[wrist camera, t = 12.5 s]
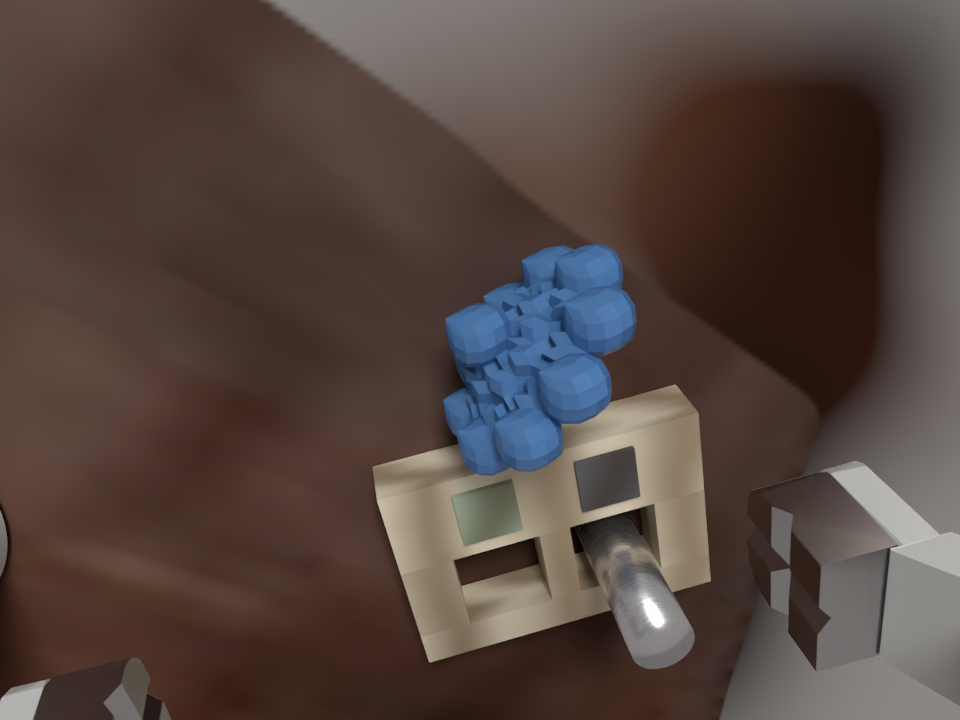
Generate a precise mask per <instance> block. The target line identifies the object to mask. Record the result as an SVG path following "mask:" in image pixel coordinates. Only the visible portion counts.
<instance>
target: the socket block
mask: <svg viewBox="0 0 960 720" xmlns="http://www.w3.org/2000/svg"><path fill="white" fill-rule="evenodd" d="M560 424H561V423H560ZM561 426H562V432H563V439H564V445H563V452H562V454H561V455H560V456H559V457H558V458H557V459H555V460H554V461H553V462H552V463H550V464H549V465H548V466H546V467H543V468H541V469H538V470H536V471H534V472H518V471H516V470H514V469H513V468H511V467H510V468H509V469H507V470H505V471H503V472H501V473H498V474H496V475H494V476H489V475H478V474H477V473H475V472H474V471H472V470H471V469H469V468H468V467H467V466H466V464H465V462H464V460H463V458H462V457H461V455H460V451H459V446H458V444H455V445H451V446H448V447H444V448H440V449H437V450H433V451H429V452H426V453H422V454H418V455H414V456H411V457H407V458H403V459H400V460H396V461H392V462H389V463H385V464H381V465H378V466H374V467H373V474H374V482H375V490H376V497H377V503H378V506H379V509H380V512H381V515H382V518H383V521H384V524H385V527H386V530H387V534H388V537H389V540H390V543H391V546H392V549H393V552H394V555H395V558H396V561H397V564H398V568H399V571H400V574H401V577H402V580H403V583H404V586H405V589H406V592H407V595H408V598H409V602H410V605H411V608H412V611H413V614H414V617H415V620H416V623H417V626H418V629H419V632H420V636H421V639H422V642H423V645H424V648H425V651H426V654H427V657H428V660H429V663H430V662H434V661H437V660H441V659H444V658H447V657H451V656H454V655H458V654H461V653H465V652H468V651H472V650H475V649H478V648H482V647H485V646H489V645H492V644H496V643H499V642H503V641H506V640H509V639H513V638H516V637H520V636H523V635H527V634H530V633H534V632H537V631H540V630H544V629H547V628H551V627H554V626H558V625H561V624H565V623H568V622H571V621H575V620H578V619H582V618H585V617H589V616H592V615H596V614H599V613H602V612H606V611H609V610H611V609H610V607H609V604H608V602H607V600H606V598H605V596H604V593H603V591H602V589H601V587H600V584H599V582H598V580H597V578H596V576H595V573H594V571H593V569H592V567H591V564H590V562H589V560H588V558H587V556H586V553H585V551H583V552H580V553H576V554H574V549H573V543H572V538H571V532H570V527H573V526H577V525H580V524H584V523H587V522H591V521H594V520H598V519H602V518H605V517H609V516H612V515H616V514H619V513H623V512H626V511H630V510H634V509H637V508H640V516H641V524H642V532H643V535H641V537H642V539H643V541H644V542H645V544H646V546H647V548H648V550H649V552H650V553H651V555H652V557H653V559H654V561H655V562H656V564H657V566H658V568H659V570H660V571H661V573H662V575H663V577H664V579H665V580H666V582H667V584H668V586H669V588H670V589H671V591H672V592H675V591H678V590H682V589H685V588H689V587H692V586H695V585H699V584H702V583H706V582H709V581H711V579H710V565H709V552H708V538H707V524H706V511H705V497H704V483H703V469H702V456H701V442H700V428H699V415H698V412H697V411H696V409H695V408H694V407H693V406H692V404H691V403H690V402H689V401H688V399H687V398H686V397H685V396H684V394H683V393H682V392H681V391H680V389H679V388H678V387H677V386H676V385H672V386H669V387H665V388H661V389H658V390H654V391H650V392H647V393H643V394H639V395H636V396H632V397H628V398H625V399H621V400H617V401H613V402H610V404H609V405H608V406H607V408H606V409H604V410H603V411H602V412H601V413H599V414H598V415H597V416H596V417H594V418H592V419H589V420H587V421H585V422H582V423H580V424H561ZM531 538H534V541H535V546H536V551H537V556H538V561H539V564H537V565H534V566H530V567H527V568H523V569H520V570H516V571H513V572H509V573H506V574H502V575H499V576H495V577H492V578H488V579H485V580H481V581H478V582H474V583H471V584H467V585H464V586H461V583H460V579H459V575H458V572H457V568H456V565H455V561H454V560H456V559H460V558H463V557H467V556H470V555H474V554H477V553H481V552H484V551H488V550H492V549H495V548H499V547H502V546H506V545H509V544H513V543H516V542H520V541H523V540H527V539H531Z"/></svg>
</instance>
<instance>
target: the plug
mask: <svg viewBox="0 0 960 720" xmlns="http://www.w3.org/2000/svg"><path fill="white" fill-rule="evenodd" d="M573 527H574V529H575V531H576V533H577V536H578V538H579V540H580V542H581V544H582V547H583V549H584V551H585V553H586V556H587V558H588V560H589V562H590V564H591V567H592V569H593V571H594V573H595V576H596V578H597V580H598V582H599V584H600V587H601V589H602V591H603V593H604V596H605V598H606V600H607V602H608V604H609V607H610V609H611V611H612V613H613V616H614V618H615V620H616V622H617V624H618V627H619V629H620V631H621V633H622V636H623V638H624V640H625V642H626V644H627V647H628V649H629V651H630V653H631V655H632V658H633V660H634V661H635V662H636V663H637V664H638V665H639V666H641V667H644V668H648V669H659V668H664V667H667V666H670V665H672V664H674V663H676V662H678V661H679V660H681V659H682V658H683V657H684V656H685V655H687V653H688V652H689V651H690V649H691V648H692V646H693V643H694V632H693V629H692V627H691V626H690V624H689V622H688V620H687V618H686V617H685V615H684V613H683V611H682V609H681V608H680V606H679V604H678V602H677V600H676V599H675V597H674V595H673V593H672V591H671V589H670V588H669V586H668V584H667V582H666V580H665V579H664V577H663V575H662V573H661V571H660V570H659V568H658V566H657V564H656V562H655V561H654V559H653V557H652V555H651V553H650V552H649V550H648V548H647V546H646V544H645V542H644V541H643V539H642V537H641V535H640V533H639V532H638V530H637V528H636V526H635V524H634V523H633V521H632V519H631V517H630V515H629V514H628V512H627V511H626V512H623V513H619V514H616V515H612V516H609V517H605V518H602V519H598V520H594V521H591V522H587V523H584V524H580V525H577V526H573Z"/></svg>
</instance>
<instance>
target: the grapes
mask: <svg viewBox="0 0 960 720" xmlns="http://www.w3.org/2000/svg"><path fill="white" fill-rule="evenodd" d="M522 276H523V281H522V282H512V283H508V284H505V285H503V286H501V287H499V288H496V289H494V290H492V291H490V292H489V293H487V294H486V295H484V296H483V302H484V303H476V304H474V305H471V306H469V307H467V308H464V309H462V310H460V311H458V312H456V313H454V314H453V315H451V316H449V317H448V318H446V319H445V322H446V332H447V338H448V343H449V346H450V348H451V350H452V352H453V353H454V357H455V363H456V369H457V372H458V373H459V375H460V377H461V379H462V381H463V383H464V384H465V386H466V387H463V388H461V389H459V390H457V391H455V392H454V393H452V394H451V395H449V396H448V397H446V398H445V399H444V400H443V404H444V412H445V417H446V422H447V424H448V426H449V428H450V429H451V431H452V433H453V434H454V435H455V436H457V441H458V446H459V451H460V455H461V457H462V458H463V460H464V462H465V464H466V466H467V467H468V468H469V469H471V470H472V471H474V472H475V473H477V474H478V475H489V476H494V475H496V474H498V473H501V472H503V471H505V470H507V469H509V468H510V467H511V468H513V469H514V470H516V471H518V472H534V471H536V470H538V469H541V468H543V467H546V466H548V465H549V464H550V463H552V462H553V461H554V460H555V459H557V458H558V457H559V456H560V455H561V454H562V452H563V445H564V439H563V432H562V426H561V424H580V423H582V422H585V421H587V420H589V419H592V418H594V417H596V416H597V415H598V414H599V413H601V412H602V411H603V410H604V409H606V408H607V406H608V405H609V404H610V399H611V393H612V387H611V379H610V373H609V372H608V370H607V368H606V367H605V365H604V363H603V362H602V360H601V359H599V358H597V357H595V356H605V355H607V354H610V353H612V352H614V351H617V350H619V349H620V348H622V347H623V346H624V345H626V344H627V343H628V342H630V341H631V340H632V339H633V337H634V333H635V327H636V314H635V306H634V304H633V302H632V301H631V299H630V298H629V296H628V294H627V293H626V292H625V291H622V290H621V288H622V280H623V273H622V265H621V261H620V259H619V258H618V256H617V255H616V253H615V251H614V250H613V249H610V248H608V247H606V246H604V245H601V244H596V245H587V246H582V247H579V248H577V249H575V250H573V249H570V248H568V247H566V246H556V247H549V248H545V249H543V250H541V251H539V252H536V253H534V254H532V255H530V256H529V257H527V258H525V259H524V260H522ZM560 423H561V424H560Z"/></svg>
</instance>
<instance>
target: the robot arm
mask: <svg viewBox="0 0 960 720" xmlns="http://www.w3.org/2000/svg"><path fill="white" fill-rule="evenodd" d="M747 515H748V516H749V517H750V519H751V520H752V521H753V523H754V524H755V525H756V528H755V530H754V531H753V533H752V534H751V536H750V537H749V538H748V558H749V562H750V566H751V569H752V573H753V576H754V579H755V581H756V583H757V585H758V587H759V590H760V592H761V593H762V595H763V596H764V598H765V599H766V601H767V602H768V604H769V605H770V607H771V608H774V609H775V610H778V611H780V612H782V613H784V614H786V615H788V616H789V626H788V627H789V629H788V632H789V634H790V635H791V637H792V638H793V640H794V641H795V643H796V644H797V645H798V647H799V648H800V649H801V651H802V652H803V653H804V655H805V657H806V658H807V659H808V661H809V662H810V663H811V665H812V666H813V668H814V669H815V671H820V670H824V669H828V668H832V667H835V666H839V665H843V664H847V663H851V662H854V661H858V660H862V659H866V658H870V657H874V656H877V655H879V659H881V660H882V661H884V662H886V663H887V664H889V665H891V666H893V667H895V668H896V669H898V670H899V671H901V672H903V673H905V674H906V675H908V676H910V677H911V678H913V679H915V680H916V681H918V682H920V683H922V684H923V685H925V686H927V687H928V688H930V689H932V690H934V691H935V692H937V693H939V694H940V695H942V696H944V697H945V698H947V699H949V700H951V701H952V702H954V703H956V704H957V705H959V706H960V535H958V534H955V533H952V532H949V533H946V534H942V535H940V534H939V533H938V532H936V531H935V530H934V529H933V528H932V527H931V526H930V525H929V524H928V523H927V522H926V521H925V520H924V519H922V518H921V516H919V515H918V514H917V513H916V512H915V511H914V510H913V509H912V508H911V507H910V506H909V505H908V504H906V503H905V502H904V501H903V500H902V499H901V498H900V497H899V496H898V495H897V494H896V493H895V492H894V491H893V490H892V489H890V488H889V487H888V486H887V485H886V484H885V483H884V482H883V481H882V480H880V478H879V477H878V476H876V475H875V474H874V473H873V472H872V471H871V470H870V469H869V468H868V467H867V466H866V465H865V464H863V463H860V462H857V461H854V462H850V463H847V464H844V465H840V466H836V467H833V468H829V469H826V470H822V471H820V472H819V473H813V474H810V475H806V476H802V477H799V478H795V479H791V480H788V481H784V482H781V483H777V484H773V485H770V486H766V487H763V488H759V489H756V490H752V491H751V492H750V494H749V497H748V500H747ZM6 557H7V533H6V527H5V523H4V519H3V516H2V514H1V511H0V577H1V574H2V572H3V569H4V566H5V562H6ZM149 679H150V676H149V674H148V673H147V671H146V669H145V668H144V666H143V664H142V663H141V661H140V659H135V658H129V659H125V660H120V661H116V662H112V663H108V664H104V665H100V666H96V667H92V668H88V669H84V670H80V671H75V672H71V673H67V674H63V675H59V676H55V677H52V678H51V679H47V680H43V681H39V682H35V683H30V684H26V685H22V686H18V687H13V688H11V689H10V690H9V691H8V692H7V693H6V694H5V695H4V696H3V697H2V698H1V700H0V720H171V718H170V714H169V712H168V710H167V708H166V706H165V704H164V702H163V701H162V700H160V699H158V698H156V697H154V696H151V695H149V694H147V691H148V685H149Z"/></svg>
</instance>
